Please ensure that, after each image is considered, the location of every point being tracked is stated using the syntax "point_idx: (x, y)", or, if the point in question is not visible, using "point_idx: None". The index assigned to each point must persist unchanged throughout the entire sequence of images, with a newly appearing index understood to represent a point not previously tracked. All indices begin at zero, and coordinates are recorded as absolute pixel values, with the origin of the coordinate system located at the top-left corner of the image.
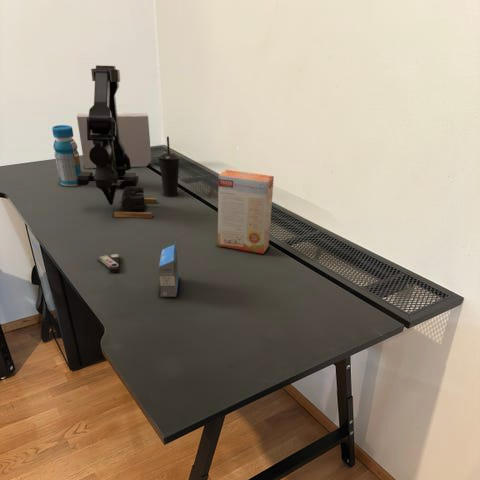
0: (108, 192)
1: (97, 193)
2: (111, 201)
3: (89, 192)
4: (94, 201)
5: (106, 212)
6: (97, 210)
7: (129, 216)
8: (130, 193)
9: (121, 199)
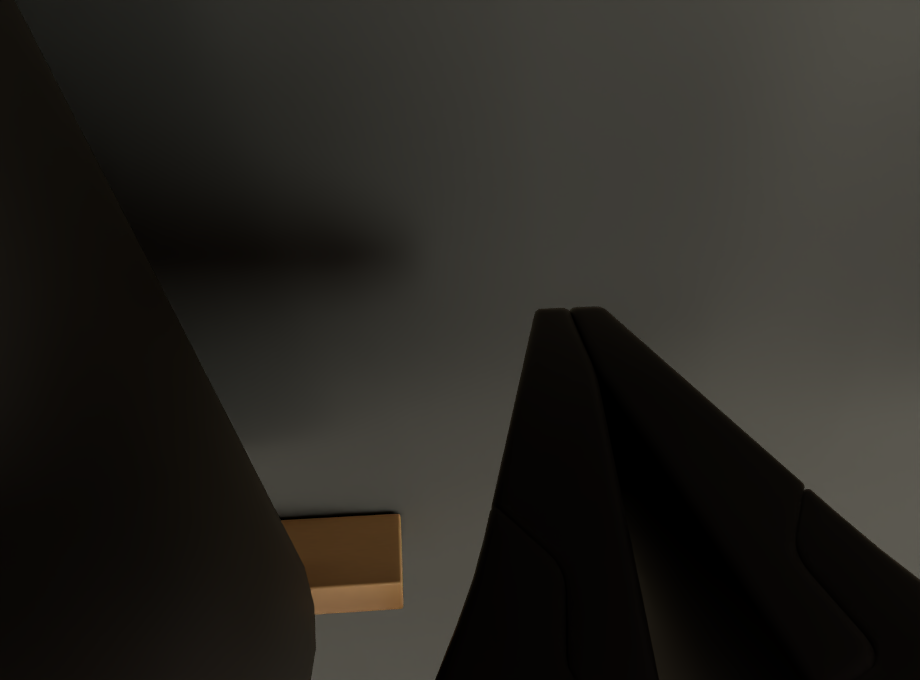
0: (708, 651)
1: None
2: (562, 363)
3: None
4: (846, 499)
5: (670, 32)
6: (884, 151)
7: None
8: None
9: (400, 563)
